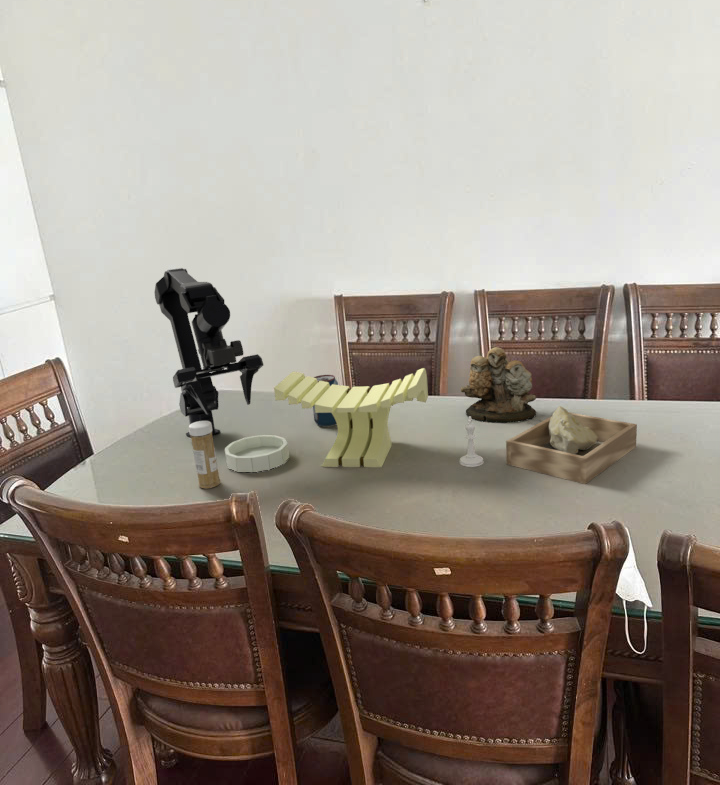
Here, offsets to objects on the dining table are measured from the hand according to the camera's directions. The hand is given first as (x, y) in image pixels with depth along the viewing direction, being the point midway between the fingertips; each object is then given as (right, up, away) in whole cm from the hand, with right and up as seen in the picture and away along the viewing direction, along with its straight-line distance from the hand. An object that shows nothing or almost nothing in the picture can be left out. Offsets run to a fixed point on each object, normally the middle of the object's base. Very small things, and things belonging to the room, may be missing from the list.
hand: (228, 409), depth 144 cm
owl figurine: (+62, -2, +22) cm, 66 cm away
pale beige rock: (+72, -10, -6) cm, 73 cm away
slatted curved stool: (+28, -10, +5) cm, 30 cm away
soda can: (+20, -4, +27) cm, 34 cm away
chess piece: (+51, -11, -5) cm, 53 cm away
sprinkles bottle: (-3, -16, -5) cm, 17 cm away
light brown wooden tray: (+72, -9, -6) cm, 73 cm away
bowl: (+5, -12, +6) cm, 14 cm away
